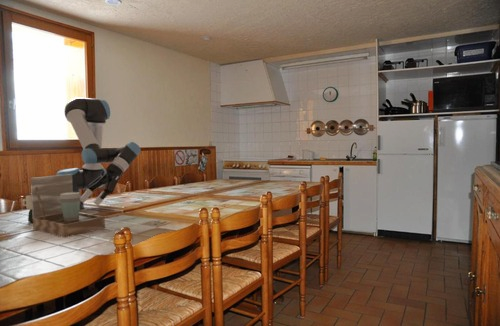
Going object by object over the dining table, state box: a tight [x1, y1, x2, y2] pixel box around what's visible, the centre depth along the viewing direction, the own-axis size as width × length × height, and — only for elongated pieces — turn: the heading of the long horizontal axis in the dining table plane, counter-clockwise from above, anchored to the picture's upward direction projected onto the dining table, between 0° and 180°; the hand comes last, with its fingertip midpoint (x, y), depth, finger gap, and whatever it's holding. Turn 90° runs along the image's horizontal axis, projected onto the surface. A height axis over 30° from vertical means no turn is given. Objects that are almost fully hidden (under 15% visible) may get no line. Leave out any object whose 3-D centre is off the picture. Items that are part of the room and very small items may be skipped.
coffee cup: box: [59, 192, 82, 222], centre depth 149 cm, size 8×9×12 cm
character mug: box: [22, 194, 33, 223], centre depth 165 cm, size 11×7×13 cm, turn 100°
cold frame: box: [29, 174, 106, 238], centre depth 150 cm, size 26×18×23 cm
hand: (88, 202), depth 156 cm, fingers open, 13 cm apart
